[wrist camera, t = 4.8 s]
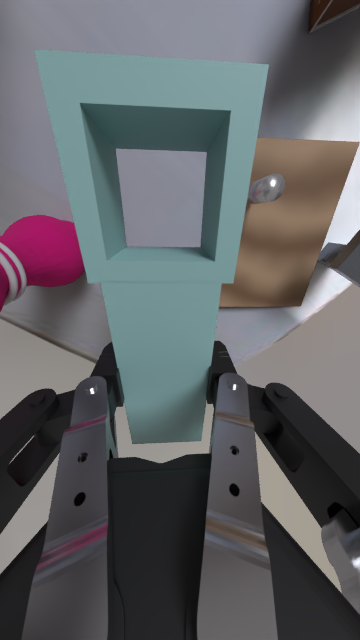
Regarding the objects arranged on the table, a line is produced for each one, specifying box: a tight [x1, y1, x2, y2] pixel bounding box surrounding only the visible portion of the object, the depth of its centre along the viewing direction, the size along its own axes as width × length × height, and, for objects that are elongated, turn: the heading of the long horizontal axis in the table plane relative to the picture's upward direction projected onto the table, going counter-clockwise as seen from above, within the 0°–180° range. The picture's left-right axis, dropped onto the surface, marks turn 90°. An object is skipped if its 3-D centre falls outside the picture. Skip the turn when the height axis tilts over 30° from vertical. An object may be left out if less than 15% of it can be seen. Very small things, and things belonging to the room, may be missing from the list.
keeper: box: [317, 230, 360, 287], centre depth 22 cm, size 6×5×8 cm
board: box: [219, 138, 360, 307], centre depth 24 cm, size 19×15×1 cm
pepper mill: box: [0, 215, 85, 312], centre depth 15 cm, size 7×7×20 cm
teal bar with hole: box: [34, 49, 269, 444], centre depth 10 cm, size 16×5×4 cm, turn 179°
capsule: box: [246, 173, 285, 206], centre depth 19 cm, size 2×2×8 cm
